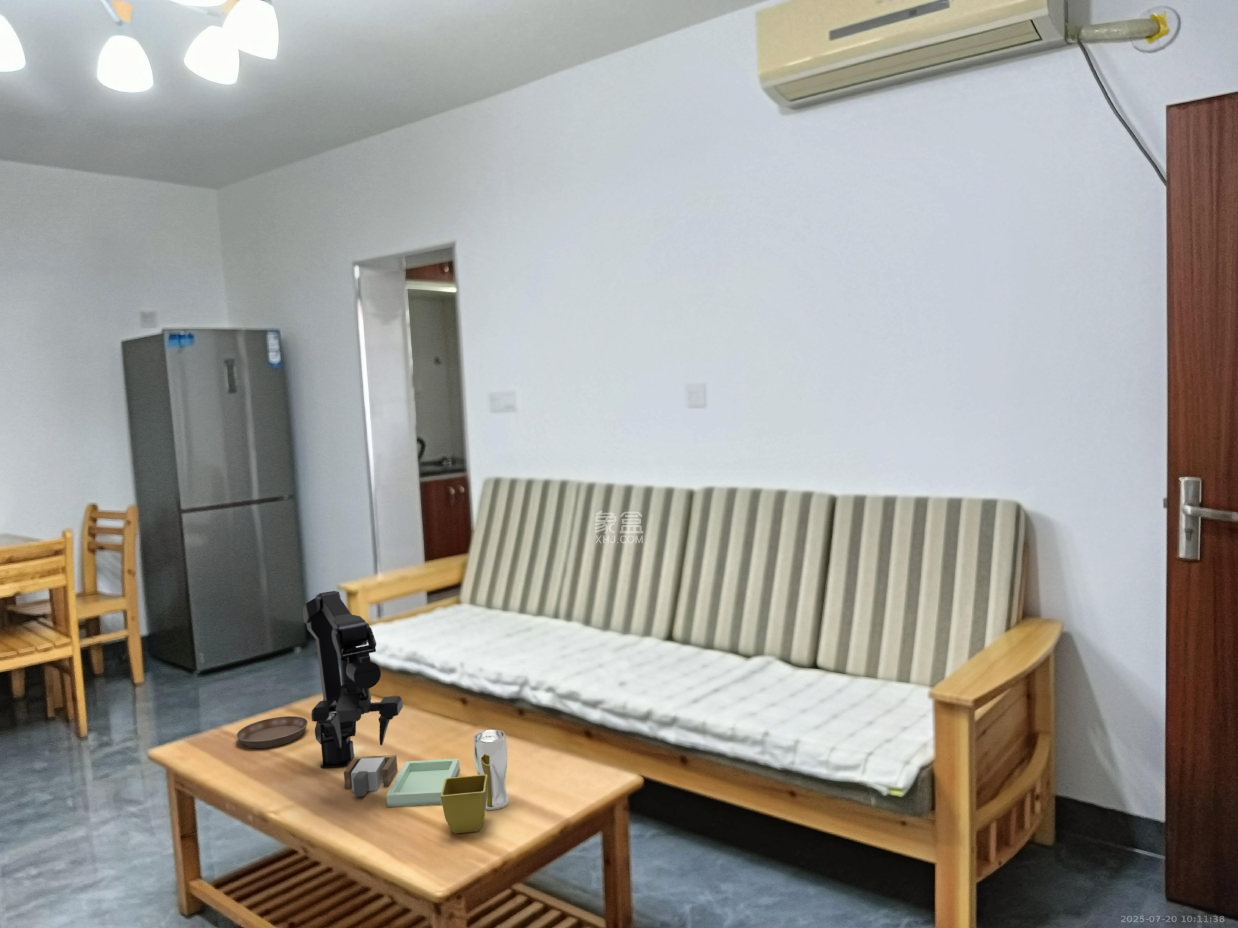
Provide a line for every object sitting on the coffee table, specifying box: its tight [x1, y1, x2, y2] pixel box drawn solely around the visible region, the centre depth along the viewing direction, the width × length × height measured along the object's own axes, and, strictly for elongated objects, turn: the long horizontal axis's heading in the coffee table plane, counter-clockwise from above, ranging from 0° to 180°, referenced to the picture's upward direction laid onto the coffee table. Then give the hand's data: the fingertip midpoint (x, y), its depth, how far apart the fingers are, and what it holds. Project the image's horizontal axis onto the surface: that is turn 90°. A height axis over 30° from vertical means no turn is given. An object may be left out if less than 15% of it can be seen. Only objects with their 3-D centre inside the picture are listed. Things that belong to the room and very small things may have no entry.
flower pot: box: [441, 774, 488, 834], centre depth 184 cm, size 9×9×9 cm
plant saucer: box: [236, 715, 309, 749], centre depth 241 cm, size 18×18×3 cm
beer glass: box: [473, 729, 509, 811], centre depth 194 cm, size 7×7×15 cm
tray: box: [386, 758, 461, 808], centre depth 204 cm, size 12×18×3 cm
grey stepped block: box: [351, 757, 385, 797], centre depth 206 cm, size 6×12×5 cm, turn 0°
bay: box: [343, 754, 399, 790], centre depth 210 cm, size 10×8×4 cm
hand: (360, 745), depth 202 cm, fingers open, 9 cm apart
